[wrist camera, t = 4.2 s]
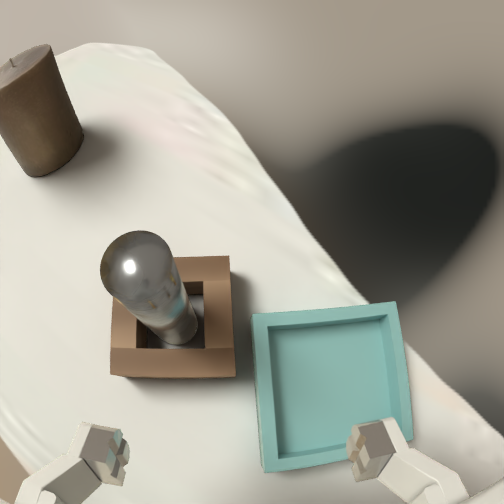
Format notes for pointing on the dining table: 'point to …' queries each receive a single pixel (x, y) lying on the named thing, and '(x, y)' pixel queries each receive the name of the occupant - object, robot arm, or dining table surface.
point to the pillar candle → (37, 112)
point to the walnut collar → (181, 360)
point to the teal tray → (326, 380)
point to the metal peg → (149, 285)
